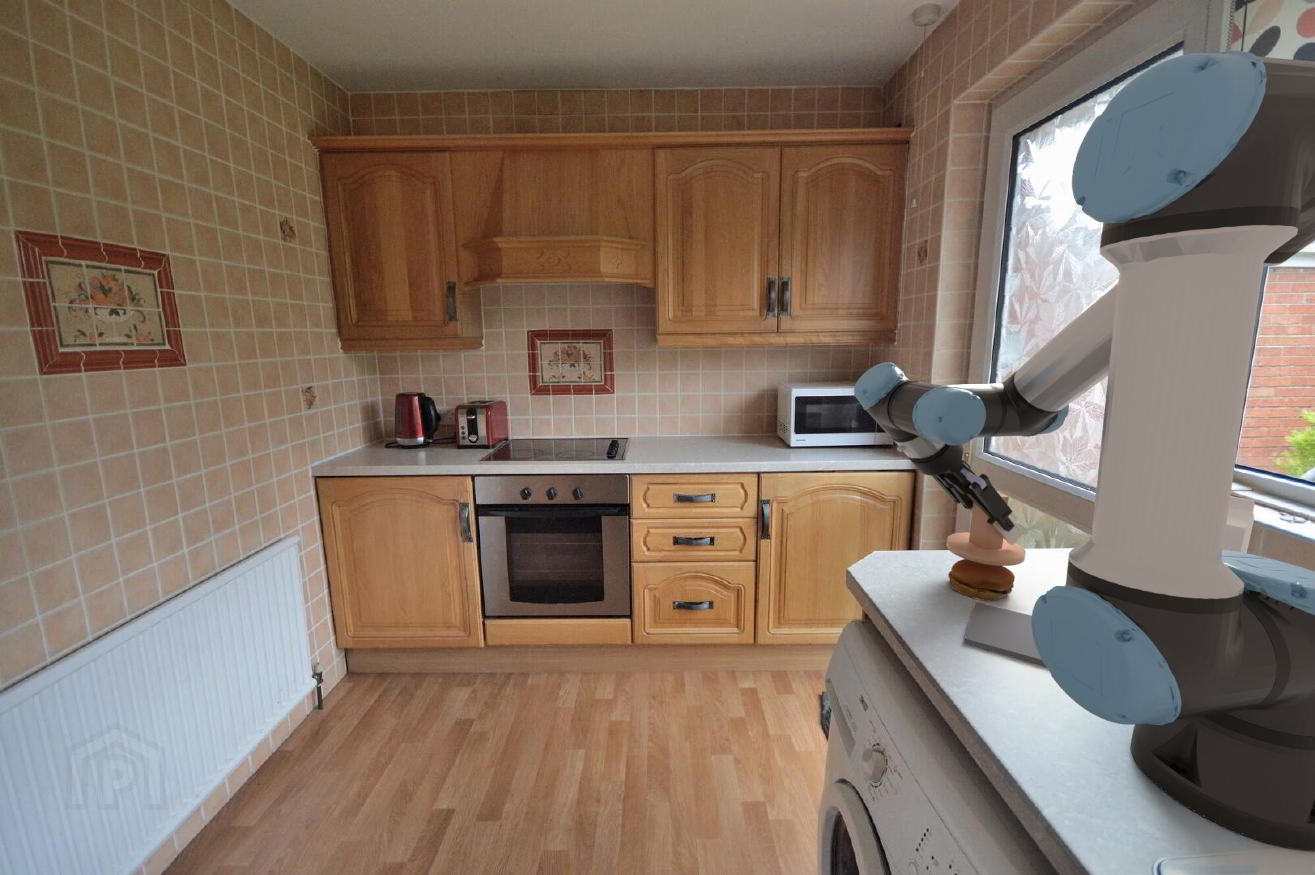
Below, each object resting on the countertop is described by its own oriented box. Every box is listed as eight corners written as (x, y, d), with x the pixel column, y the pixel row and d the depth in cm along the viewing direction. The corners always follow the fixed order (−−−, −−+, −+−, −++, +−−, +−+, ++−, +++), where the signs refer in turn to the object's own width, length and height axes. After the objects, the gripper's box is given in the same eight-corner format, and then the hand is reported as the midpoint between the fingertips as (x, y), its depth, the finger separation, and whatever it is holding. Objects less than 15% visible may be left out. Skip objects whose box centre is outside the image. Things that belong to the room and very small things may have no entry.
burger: (957, 599, 94) (961, 573, 93) (941, 575, 103) (944, 551, 102) (1023, 605, 92) (1027, 578, 91) (1001, 580, 101) (1004, 556, 100)
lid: (979, 568, 90) (986, 507, 88) (931, 541, 101) (937, 486, 99) (1042, 562, 92) (1050, 502, 90) (989, 536, 103) (995, 482, 101)
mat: (1085, 677, 73) (1086, 672, 73) (964, 643, 81) (964, 638, 81) (1082, 632, 84) (1083, 628, 83) (974, 606, 91) (975, 601, 91)
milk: (1217, 659, 77) (1252, 505, 72) (1159, 640, 82) (1188, 494, 77) (1226, 644, 81) (1260, 496, 76) (1171, 626, 85) (1199, 485, 81)
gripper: (882, 448, 98) (957, 532, 105) (946, 473, 82) (1030, 570, 89) (913, 417, 98) (986, 503, 104) (983, 436, 82) (1064, 536, 88)
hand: (1006, 534), depth 97 cm, fingers closed on lid, 3 cm apart
